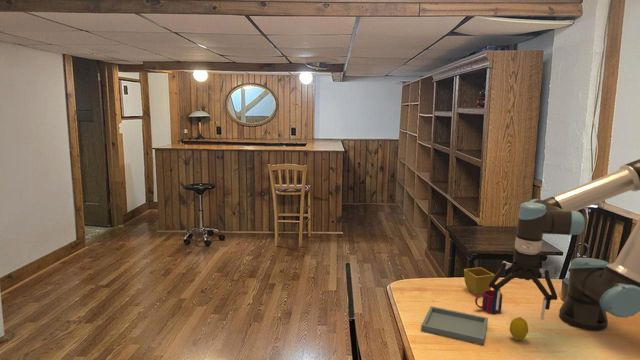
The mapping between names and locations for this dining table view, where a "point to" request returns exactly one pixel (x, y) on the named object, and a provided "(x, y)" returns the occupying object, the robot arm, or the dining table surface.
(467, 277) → the flower pot
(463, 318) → the tray
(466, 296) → the dining table surface
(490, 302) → the mug
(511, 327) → the lemon
